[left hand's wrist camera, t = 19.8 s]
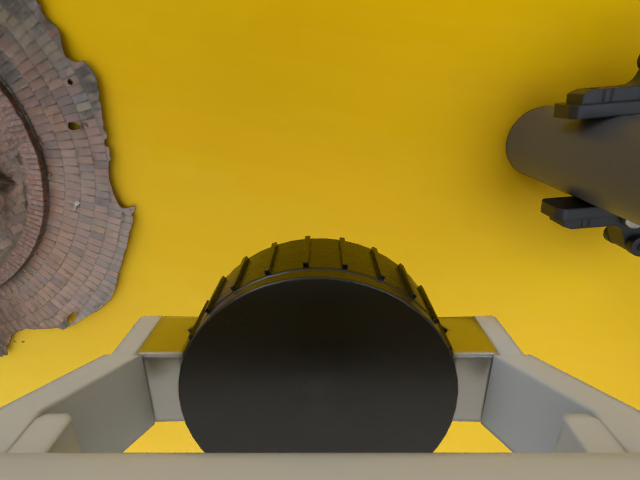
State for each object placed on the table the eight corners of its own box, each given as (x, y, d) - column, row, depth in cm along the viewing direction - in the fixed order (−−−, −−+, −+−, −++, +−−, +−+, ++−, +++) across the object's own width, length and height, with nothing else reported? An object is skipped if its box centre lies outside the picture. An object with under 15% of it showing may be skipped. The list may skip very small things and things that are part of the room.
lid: (181, 401, 11) (152, 469, 9) (232, 202, 9) (207, 234, 7) (385, 452, 11) (397, 524, 10) (475, 275, 9) (514, 324, 8)
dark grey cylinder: (583, 109, 28) (1028, 157, 11) (562, 177, 30) (914, 315, 12) (515, 103, 28) (855, 141, 10) (498, 172, 30) (763, 305, 12)
